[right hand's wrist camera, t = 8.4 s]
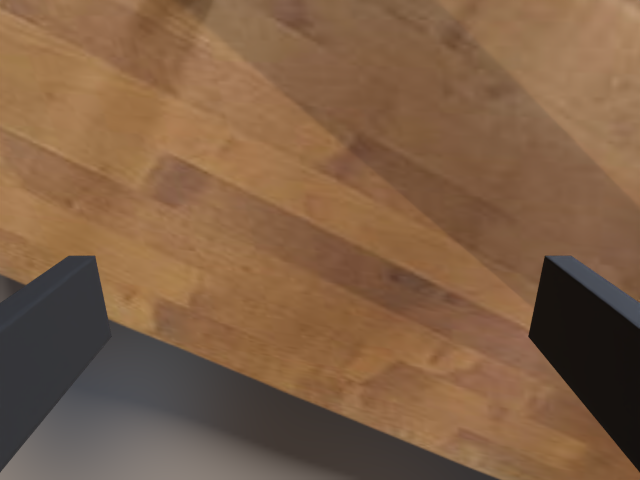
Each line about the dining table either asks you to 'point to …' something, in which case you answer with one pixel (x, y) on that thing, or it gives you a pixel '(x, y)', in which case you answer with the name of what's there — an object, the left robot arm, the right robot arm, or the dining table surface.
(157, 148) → the dining table surface
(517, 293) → the dining table surface
